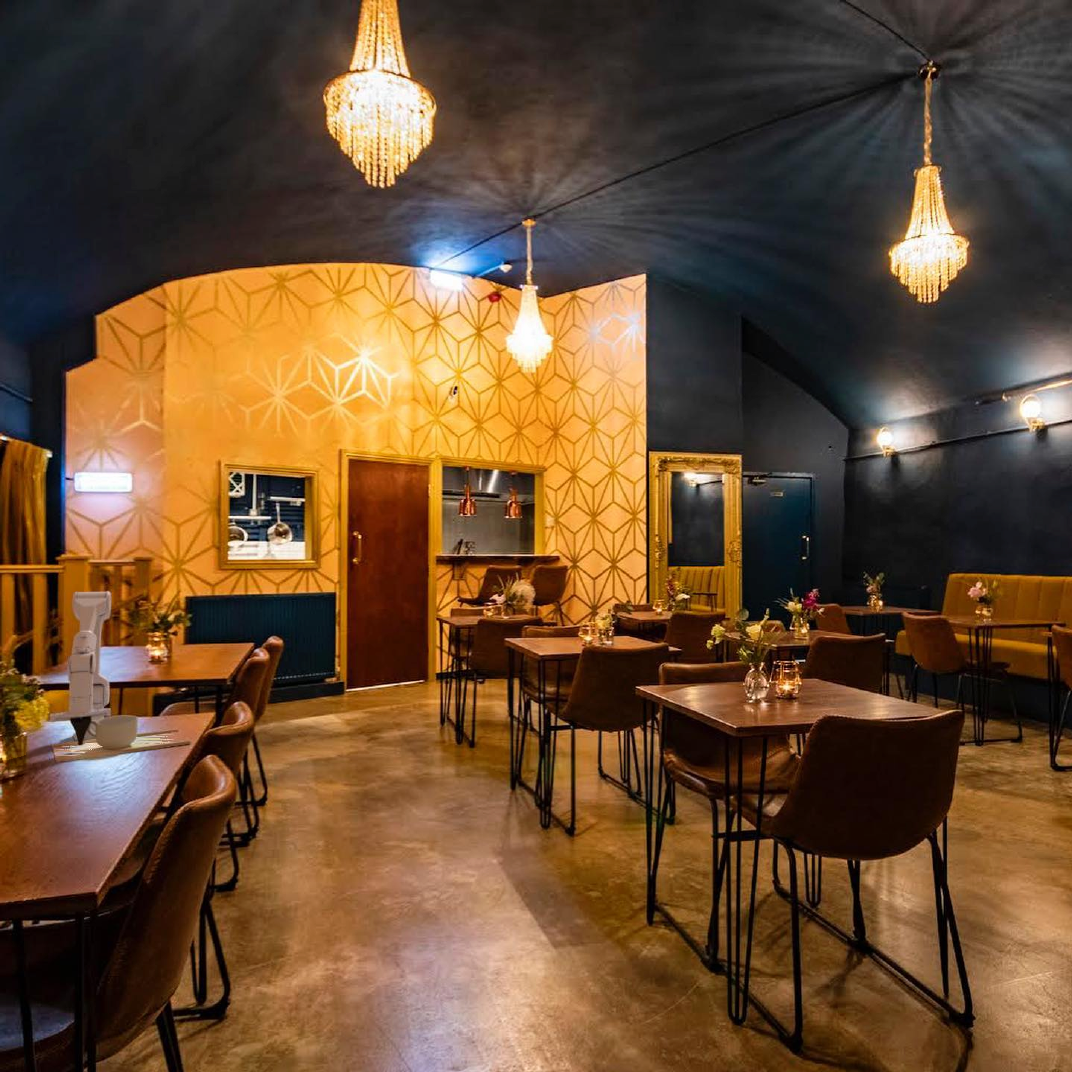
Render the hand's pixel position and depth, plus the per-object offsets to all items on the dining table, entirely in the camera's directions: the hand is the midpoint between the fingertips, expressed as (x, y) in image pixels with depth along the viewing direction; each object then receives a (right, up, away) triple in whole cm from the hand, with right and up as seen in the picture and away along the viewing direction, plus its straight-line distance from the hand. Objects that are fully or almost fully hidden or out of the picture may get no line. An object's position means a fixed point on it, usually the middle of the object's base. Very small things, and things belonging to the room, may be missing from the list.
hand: (80, 744), depth 211 cm
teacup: (+6, -2, +4) cm, 8 cm away
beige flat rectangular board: (+8, -2, +6) cm, 10 cm away
